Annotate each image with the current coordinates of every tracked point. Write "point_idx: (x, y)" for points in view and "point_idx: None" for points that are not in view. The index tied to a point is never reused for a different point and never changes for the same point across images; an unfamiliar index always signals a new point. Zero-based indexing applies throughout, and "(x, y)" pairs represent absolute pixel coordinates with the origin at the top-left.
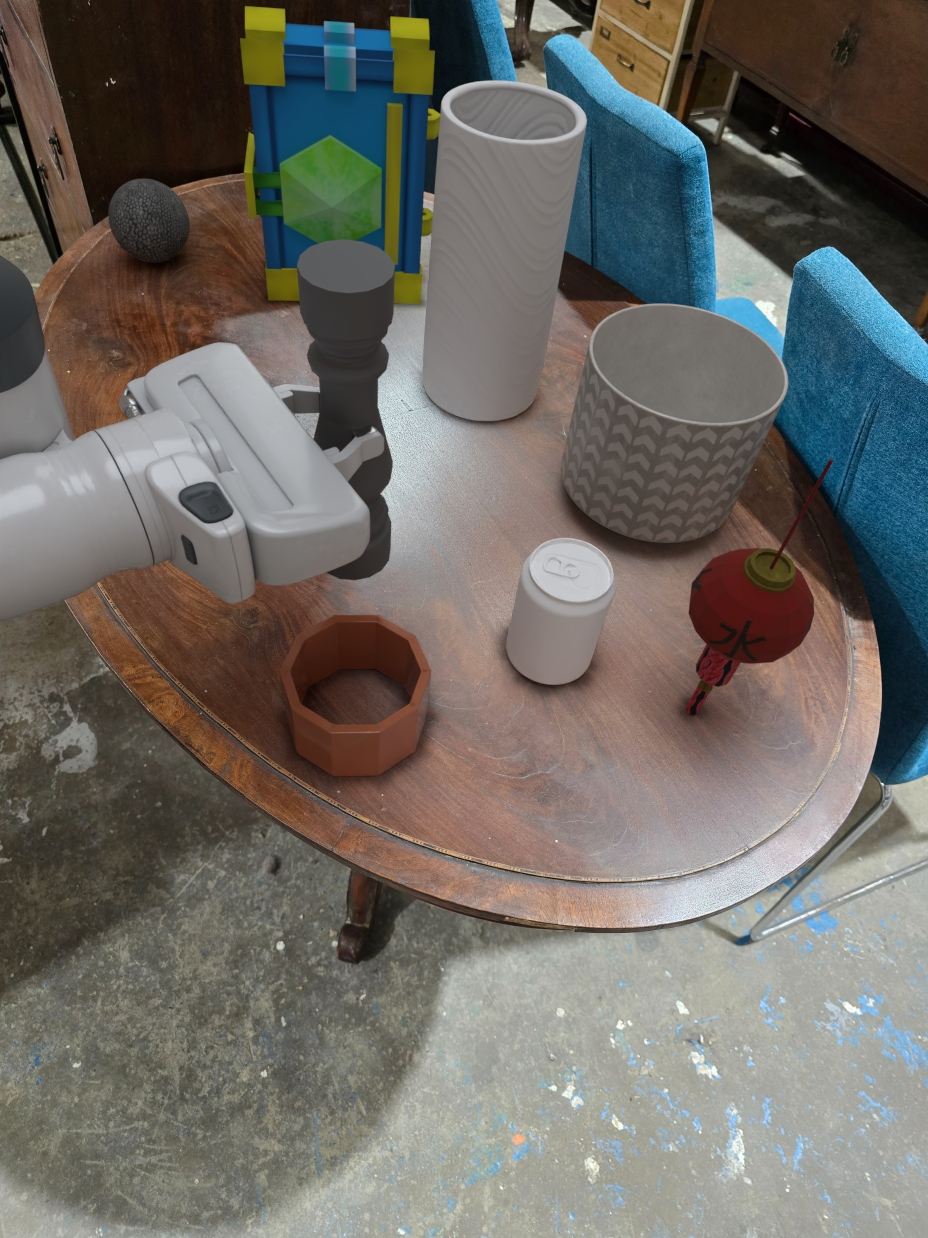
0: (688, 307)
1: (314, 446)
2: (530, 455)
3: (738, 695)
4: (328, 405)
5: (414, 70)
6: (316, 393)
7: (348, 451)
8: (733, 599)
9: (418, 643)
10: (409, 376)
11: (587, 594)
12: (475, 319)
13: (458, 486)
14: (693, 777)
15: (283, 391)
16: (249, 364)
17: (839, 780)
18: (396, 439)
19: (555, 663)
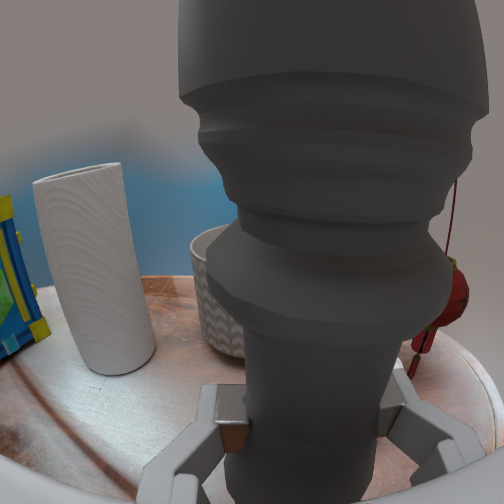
0: (213, 228)
1: (471, 474)
2: (186, 361)
3: (403, 356)
4: (356, 411)
5: (2, 208)
6: (215, 430)
7: (450, 423)
8: (455, 285)
9: (364, 500)
10: (79, 371)
11: (394, 366)
12: (110, 302)
13: (177, 408)
14: (446, 389)
15: (168, 488)
16: (40, 484)
17: (449, 340)
18: (111, 411)
19: None
